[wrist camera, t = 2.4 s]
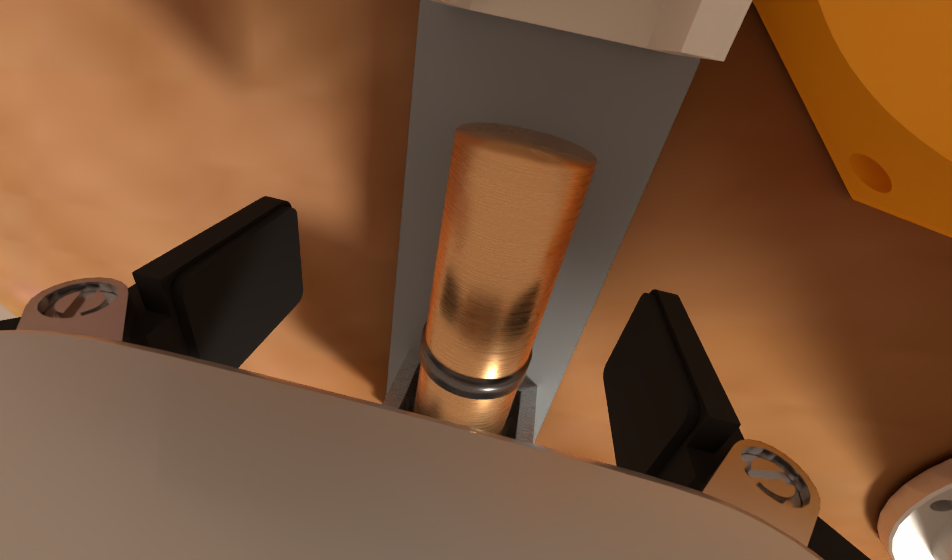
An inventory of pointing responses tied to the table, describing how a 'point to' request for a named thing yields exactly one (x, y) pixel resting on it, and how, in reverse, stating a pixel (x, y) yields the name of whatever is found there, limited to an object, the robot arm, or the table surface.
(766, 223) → the table surface
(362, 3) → the table surface
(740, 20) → the light grey u-shaped block
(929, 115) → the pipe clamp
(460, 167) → the tube
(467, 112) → the board
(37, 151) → the table surface
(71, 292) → the robot arm
